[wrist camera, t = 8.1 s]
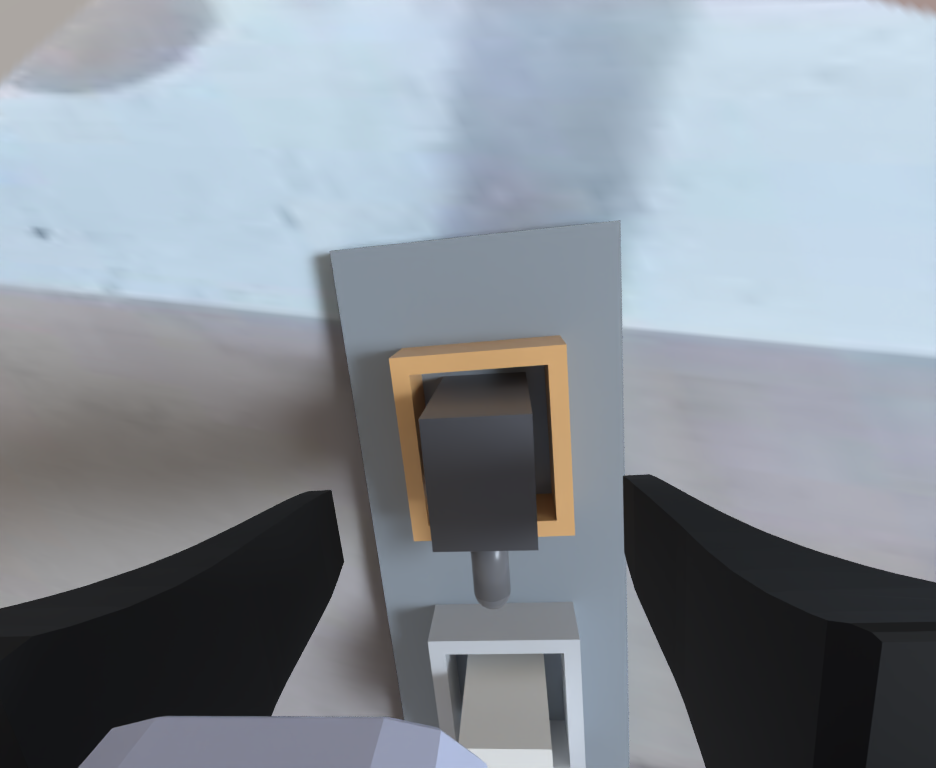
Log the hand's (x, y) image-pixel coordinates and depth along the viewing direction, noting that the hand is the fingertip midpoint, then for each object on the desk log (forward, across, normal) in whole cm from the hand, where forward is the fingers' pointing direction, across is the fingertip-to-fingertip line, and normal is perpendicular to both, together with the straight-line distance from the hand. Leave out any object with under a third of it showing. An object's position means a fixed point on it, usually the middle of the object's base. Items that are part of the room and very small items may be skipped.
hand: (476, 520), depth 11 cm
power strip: (+7, 0, +5) cm, 9 cm away
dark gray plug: (+6, 0, +1) cm, 7 cm away
